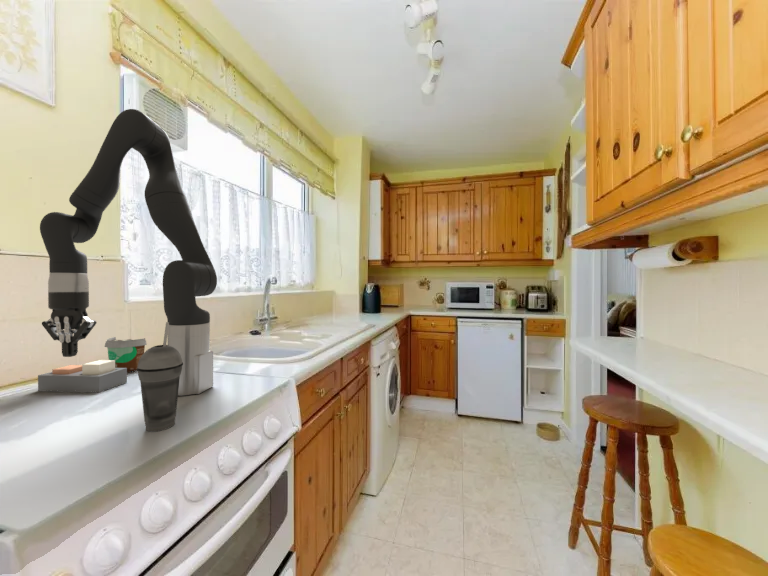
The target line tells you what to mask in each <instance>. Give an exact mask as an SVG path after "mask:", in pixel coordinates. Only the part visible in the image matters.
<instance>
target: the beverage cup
mask: <svg viewBox="0 0 768 576" xmlns="http://www.w3.org/2000/svg"><path fill="white" fill-rule="evenodd" d="M168 327H169V322H168V321H165V327H164V336H163V341H162V342H163V343H162V344H159V345H153V346H152V347H150V348H148V349H147V350H145V351H144V354H143V355H142V356H141V358H140V360H139V363H138V367H137V371H136V372H137V376H138V379H139V382H140V390H141V401H142V410H143V419H144V424H145V425H144V426H145V430H146V432H160V431H165V430H168V429H170V428H171V427H173V426H174V425H175V423H176V422H175V420H176V417H177V409H178V408H177V407H178V398H179V397H178V389H179V379H180V375H181V371H182V365H183V362H182V357H181V355H180V353H179V351H178V350H177V349H175V348H174V347H172V346H169V345H167V343H168Z"/></svg>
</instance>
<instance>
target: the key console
mask: <svg viewBox="0 0 768 576" xmlns="http://www.w3.org/2000/svg"><path fill="white" fill-rule="evenodd" d="M127 382H128V372H127V368H115V370H114V371H111V372H107V373H104V374H101V375H82V371H80V372H76V373H72V374H52V371H50V372H45V373H42V374H38V375H37V392H58V393H59V392H60V393H61V392H63V393H74V392H75V393H101V392H105V391H107V390H110V389H112V388H115V387H118V386H120V385H123V384H126V383H127Z"/></svg>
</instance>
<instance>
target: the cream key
mask: <svg viewBox="0 0 768 576" xmlns="http://www.w3.org/2000/svg"><path fill="white" fill-rule="evenodd" d="M81 365H82V375H101V374H104V373H107V372H111V371H114V370H115V360H109V359H98V360H95V361H89V362H86V363H84V364H81Z"/></svg>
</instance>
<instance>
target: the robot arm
mask: <svg viewBox="0 0 768 576" xmlns="http://www.w3.org/2000/svg"><path fill="white" fill-rule="evenodd" d="M172 148H173V147H172V143H171V141H170V137H169V135H168V133H167V132H166V131H165V130H164V129H163V128H162V127H161V126H160V125H159V124H158V123H156V122H155V121H154V120H153V119H152V118H150V117H149V116H148V115H146V114H145V113H144V112H142V111H140V110H138V109H135V108H127V109H125V110H123V111H121V112H120V113H119V114H118V115H117V116H116V118H115V119H114V120H113V122H112V123H111V125H110V128H109V129H108V132H107V134H106V137H105V138H104V140H103V142H102V145H101V146H100V148H99V151H98V153H97V155H96V157H95V159H94V162H93V163H92V165H91V167H90V169H89V170H88V172H87V174H86V175H85V176H84V178H83V179H82V180H81V181H80V183H79V184H78V185H77V186H76V188H75V189H73V192H72V193H71V194H70V196H69V198H68V201H69V203H70V204H71V206H72V207H74V208H75V212H74V214H73V215H71V214H67V213H64V212H58V211H52V212H49V213H47V214H45V215H44V216H43V217H42V219H41V220H40V223H39V231H40V236H41V238H42V240H43V244H44V246H45V250H46V252H47V254H48V258H49V263H48V264H49V266H48V267H49V277H48V281H47V292H48V293H47V295H48V297H47V301H48V303H47V304H48V305H47V306H48V309H49V310H52V311H51V314H50V318H49V319H48V320H43V321H42V322H41V325H42V327H43V328H44V329H45V330H46V332H47V333H48V335H49V336H50V338H52V340H53V341H59V342H60V343H61V354H62V357H64V358H72V357H76V356H77V354H78V352H79V351H78V344H79V343H78V342H79V341H81V340H85V339H86V338H87V336H88V335H89V334H90V333H91V331H92V329H94V328H95V326H96V324H97V320H95V319H92V320H91V319H90V318H89V317H88V316H89V315H88V312H87V309H88V308H89V307H90V300H89V299H90V294H89V293H90V290H89V289H90V283H89V282H90V281H89V277H88V276H89V275H88V257H87V255H86V254H85V253H84V252H82V251H80V250H78V249H76V246H75V243H76V244H84V243H86V242H88V241H90V240H92V238H93V237H94V236H95V235H96V234H97V231H98V228H99V226H100V223H101V220H102V217H103V213H104V212H105V210H106V209H107V208H108V207H109V205H110V204H111V203H112V201H113V200H114V198H115V197H116V195H118V192H119V189H120V184H121V168H122V165H123V161H124V159H125V157H126V156H127V154H128V153H129V152H130V151H131V149H133V150H135V151H136V152H138V153H139V154H140V155H141V156H142V158H143V161H144V163H145V165H146V168H147V171H148V174H149V176H148V180H147V182H146V184H145V189H144V201H145V203H146V207H147V209H148V213H149V215H150V218H151V220H152V222H153V224H154V225H155V226H156V228H157V229H158V230H159V231H160V232H161V233H162V234H163V236H164V237H166V238H167V239H168V240H169V242H170V243H171V244H172V245H173V246H174V247H175V248H176V250H177V252H178V253H179V255H180V258H181V259H180V260H177V259H176V260H172V261H171V262H169V263H168V264H167V265H166V267H165V268H164V271H163V274H162V295H163V296H162V297H163V309H164V311H163V312H164V313H165V316H166V318H167V322H169V327H168V335H167V343H166V345H169V346H172V347H174V348H175V349H177V350H178V351H179V353H180V355H181V357H182V362H183V365H182V371H181V375H180V379H179V389H178V396H188V395H189V396H190V395H195V394H196V395H199V394H202V393H204V392H205V391H207V390H208V389H210V388H212V387H214V351H213V350H210V349H211V348H210V346H211V345H210V341H211V339H210V337H211V335H210V334H211V333H210V331H211V329H210V328H211V323H210V322H211V317H210V316H211V315H210V312H209V311H207V310H205V309H203V308H201V307H199V306H198V304H197V301H196V297H206V296H209V295H212V294H213V293H214V292H215V291H216V288H217V286H218V284H217V283H218V277H217V272H216V269H215V268H214V265H213V263H212V261H211V259H210V256H209V254H208V252H207V250H206V248H205V246H204V243H203V241H202V239H201V236H200V233H199V231H198V228H197V225H196V223H195V221H194V217H193V214H192V210H191V208H190V205H189V202H188V198H187V196H186V193H185V191H184V188H183V185H182V182H181V179H180V175H179V173H178V169H177V167H176V163H175V159H174V158H175V157H174V154H173V149H172Z"/></svg>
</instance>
